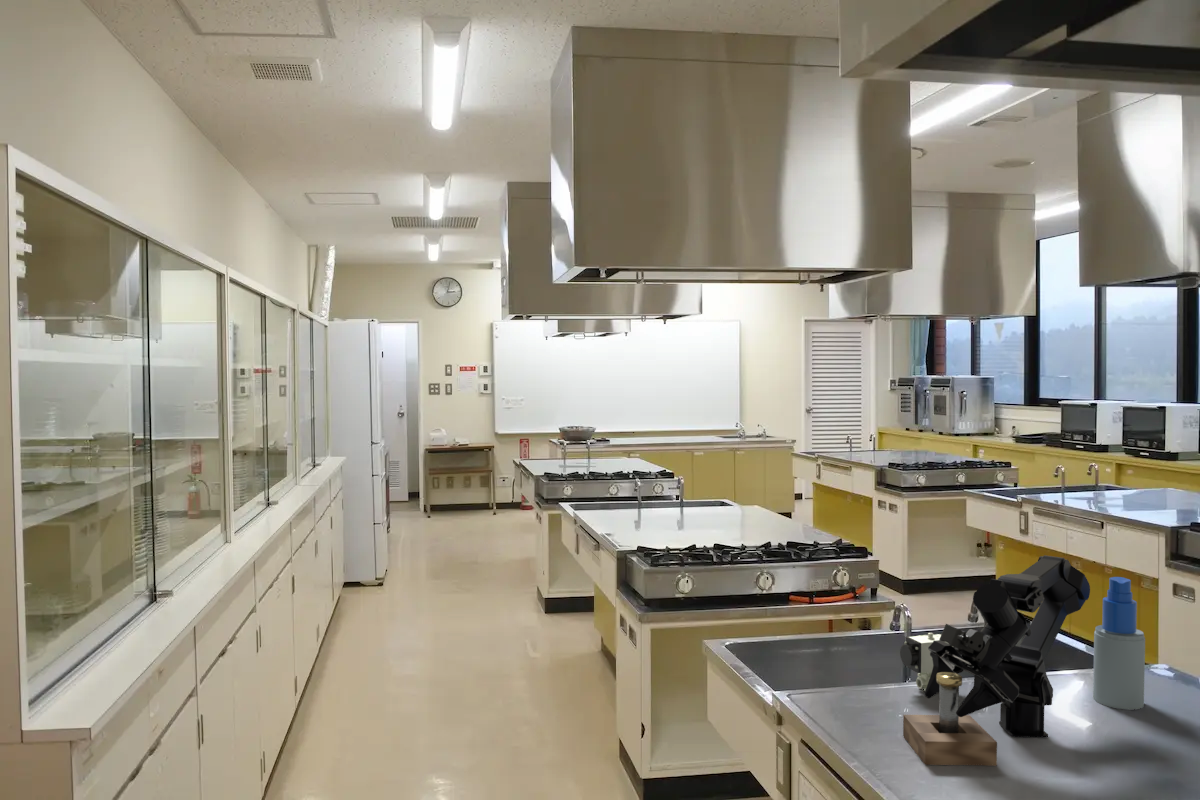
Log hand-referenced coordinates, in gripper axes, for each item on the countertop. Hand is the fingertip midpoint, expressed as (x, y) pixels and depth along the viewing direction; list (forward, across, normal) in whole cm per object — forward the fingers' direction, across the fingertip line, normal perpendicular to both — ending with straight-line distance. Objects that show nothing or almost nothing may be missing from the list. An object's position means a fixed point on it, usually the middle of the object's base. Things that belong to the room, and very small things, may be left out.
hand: (941, 705), depth 158 cm
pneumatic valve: (-6, -28, +17) cm, 33 cm away
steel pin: (+5, 0, +7) cm, 8 cm away
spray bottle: (-29, -13, +41) cm, 52 cm away
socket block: (+5, 0, +7) cm, 8 cm away
